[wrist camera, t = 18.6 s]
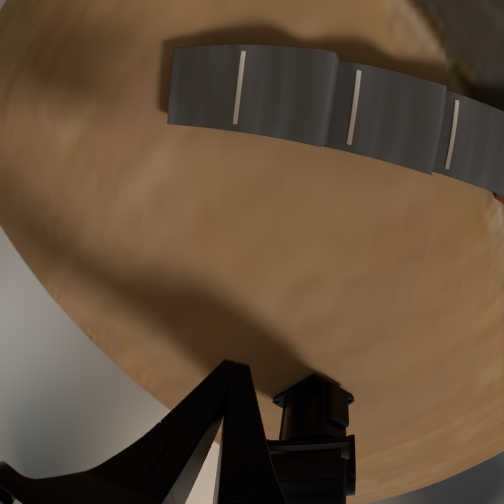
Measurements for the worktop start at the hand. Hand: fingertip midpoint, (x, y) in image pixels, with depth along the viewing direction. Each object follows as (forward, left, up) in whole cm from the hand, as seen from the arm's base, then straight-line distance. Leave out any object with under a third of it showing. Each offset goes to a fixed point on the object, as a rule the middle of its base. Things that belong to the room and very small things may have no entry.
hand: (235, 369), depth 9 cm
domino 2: (+7, +5, -12) cm, 15 cm away
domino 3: (+10, 0, -12) cm, 15 cm away
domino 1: (+4, +11, -12) cm, 16 cm away
